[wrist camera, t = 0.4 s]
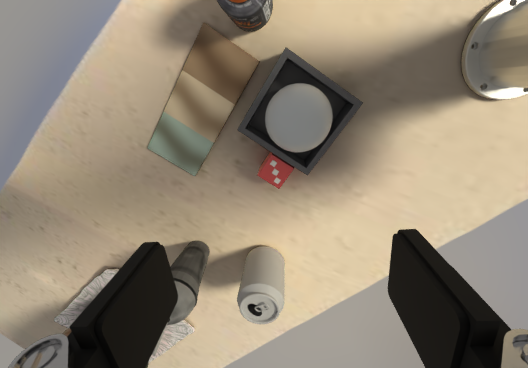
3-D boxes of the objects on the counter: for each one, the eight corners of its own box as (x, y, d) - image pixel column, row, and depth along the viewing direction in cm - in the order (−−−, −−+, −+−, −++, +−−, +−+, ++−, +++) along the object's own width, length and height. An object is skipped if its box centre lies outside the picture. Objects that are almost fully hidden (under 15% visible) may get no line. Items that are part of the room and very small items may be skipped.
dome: (289, 70, 33) (290, 66, 26) (339, 105, 34) (355, 112, 27) (256, 123, 36) (248, 134, 29) (303, 154, 37) (308, 173, 30)
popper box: (285, 51, 35) (285, 47, 30) (353, 100, 37) (363, 102, 32) (229, 147, 41) (221, 156, 36) (289, 185, 43) (289, 198, 38)
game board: (204, 23, 35) (203, 22, 34) (259, 61, 36) (259, 61, 35) (149, 147, 42) (147, 148, 41) (195, 175, 43) (194, 176, 43)
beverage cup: (195, 227, 47) (136, 320, 29) (223, 251, 49) (186, 353, 30) (173, 249, 50) (106, 347, 31) (201, 270, 51) (153, 376, 33)
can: (238, 254, 49) (225, 305, 38) (269, 236, 47) (264, 284, 36) (261, 280, 51) (254, 334, 40) (292, 263, 49) (293, 317, 38)
